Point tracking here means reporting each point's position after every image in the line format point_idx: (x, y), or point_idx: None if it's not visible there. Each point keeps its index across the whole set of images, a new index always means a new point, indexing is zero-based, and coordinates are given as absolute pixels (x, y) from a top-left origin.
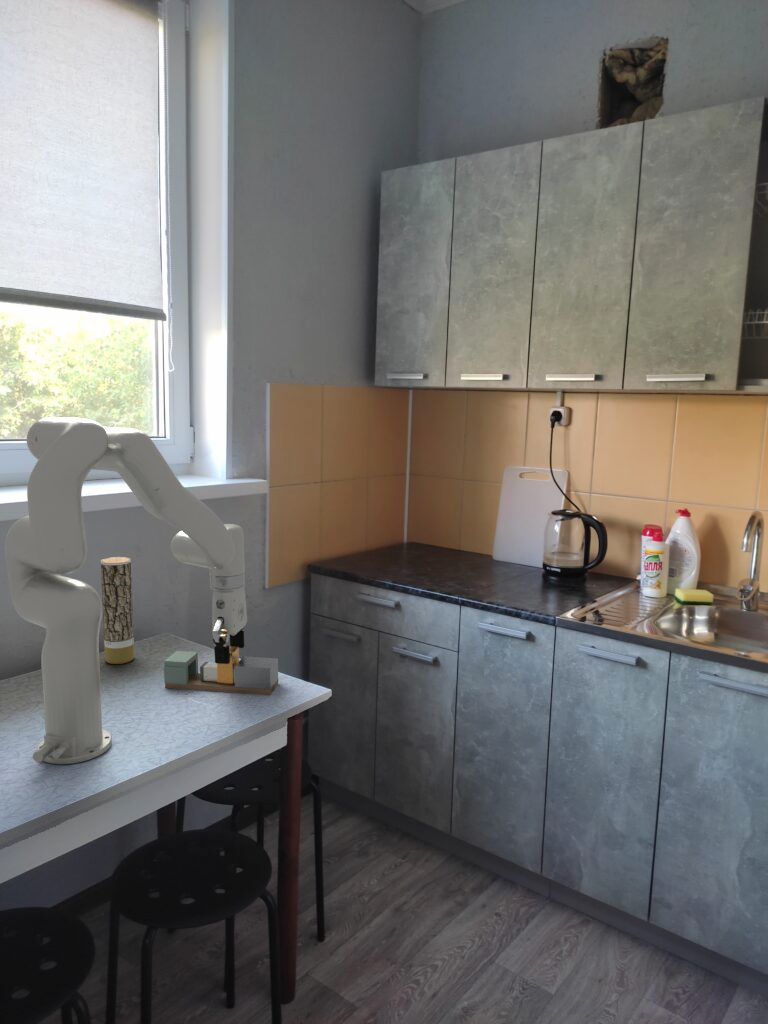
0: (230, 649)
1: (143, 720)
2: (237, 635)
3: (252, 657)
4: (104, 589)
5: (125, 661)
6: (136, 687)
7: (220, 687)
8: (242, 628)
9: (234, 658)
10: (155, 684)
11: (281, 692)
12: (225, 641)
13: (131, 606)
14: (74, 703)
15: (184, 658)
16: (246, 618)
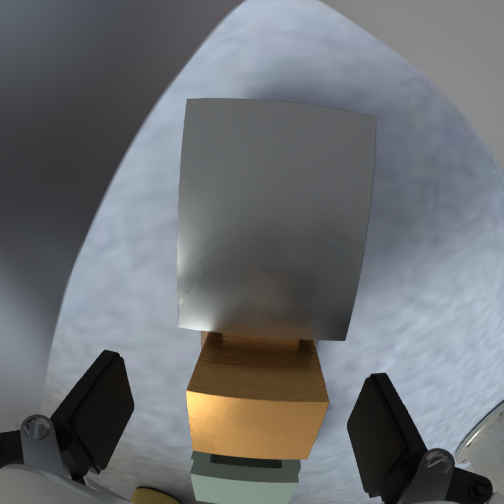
0: (250, 424)
1: (448, 414)
2: (97, 429)
3: (186, 272)
4: None
5: (169, 497)
6: None
7: (316, 341)
8: (51, 435)
9: (281, 369)
10: None
11: (304, 102)
12: (446, 481)
13: None
14: None
15: (259, 489)
16: (9, 500)
